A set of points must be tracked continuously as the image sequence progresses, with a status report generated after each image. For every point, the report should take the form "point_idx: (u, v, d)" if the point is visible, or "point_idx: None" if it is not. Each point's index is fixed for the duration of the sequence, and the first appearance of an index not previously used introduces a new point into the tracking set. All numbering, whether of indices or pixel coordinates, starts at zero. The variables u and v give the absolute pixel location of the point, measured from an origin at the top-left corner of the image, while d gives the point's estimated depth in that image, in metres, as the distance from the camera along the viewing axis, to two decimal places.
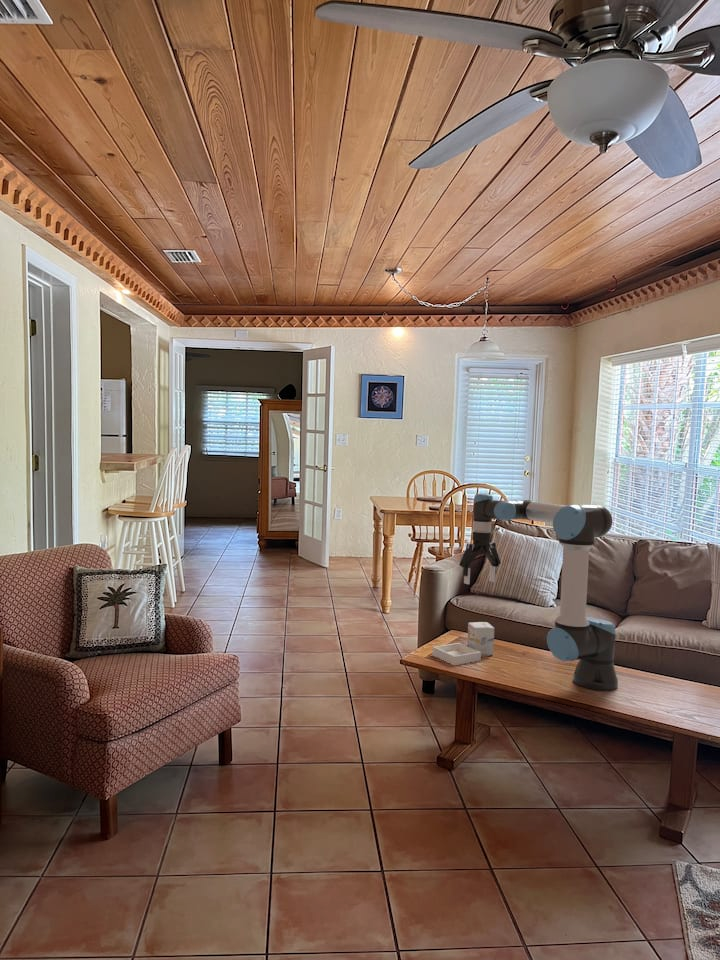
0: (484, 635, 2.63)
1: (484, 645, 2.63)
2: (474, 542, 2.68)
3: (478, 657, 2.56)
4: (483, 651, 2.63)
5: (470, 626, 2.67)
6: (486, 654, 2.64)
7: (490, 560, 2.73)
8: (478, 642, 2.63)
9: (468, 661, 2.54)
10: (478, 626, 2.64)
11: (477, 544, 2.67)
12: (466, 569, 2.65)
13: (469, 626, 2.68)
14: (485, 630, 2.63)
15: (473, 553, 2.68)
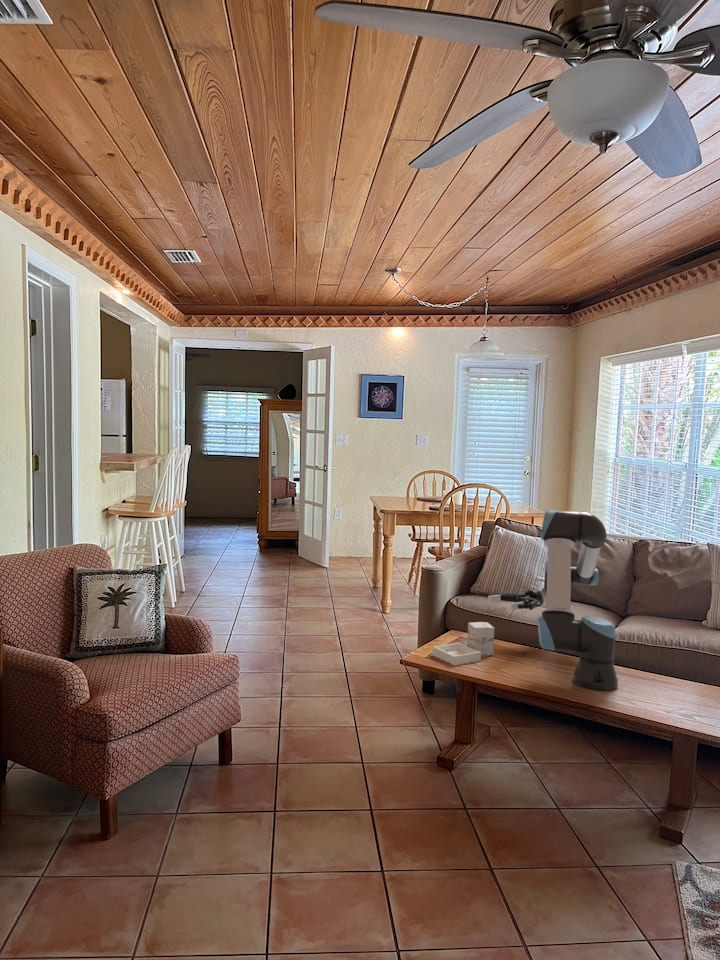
0: (484, 635, 2.63)
1: (484, 645, 2.63)
2: None
3: (478, 657, 2.56)
4: (483, 651, 2.63)
5: (470, 626, 2.67)
6: (486, 654, 2.64)
7: None
8: (478, 642, 2.63)
9: (468, 661, 2.54)
10: (478, 626, 2.64)
11: None
12: None
13: (469, 626, 2.68)
14: (485, 630, 2.63)
15: None
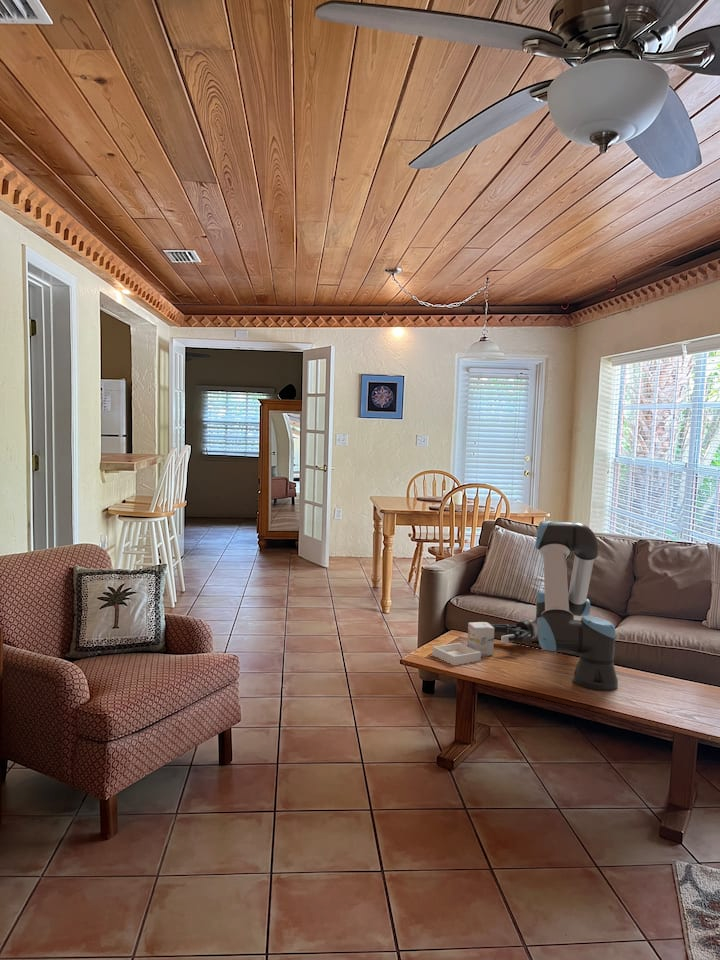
0: (484, 635, 2.63)
1: (484, 645, 2.63)
2: None
3: (478, 657, 2.56)
4: (483, 651, 2.63)
5: (470, 626, 2.67)
6: (486, 654, 2.64)
7: None
8: (478, 642, 2.63)
9: (468, 661, 2.54)
10: (478, 626, 2.64)
11: None
12: None
13: (469, 626, 2.68)
14: (485, 630, 2.63)
15: None
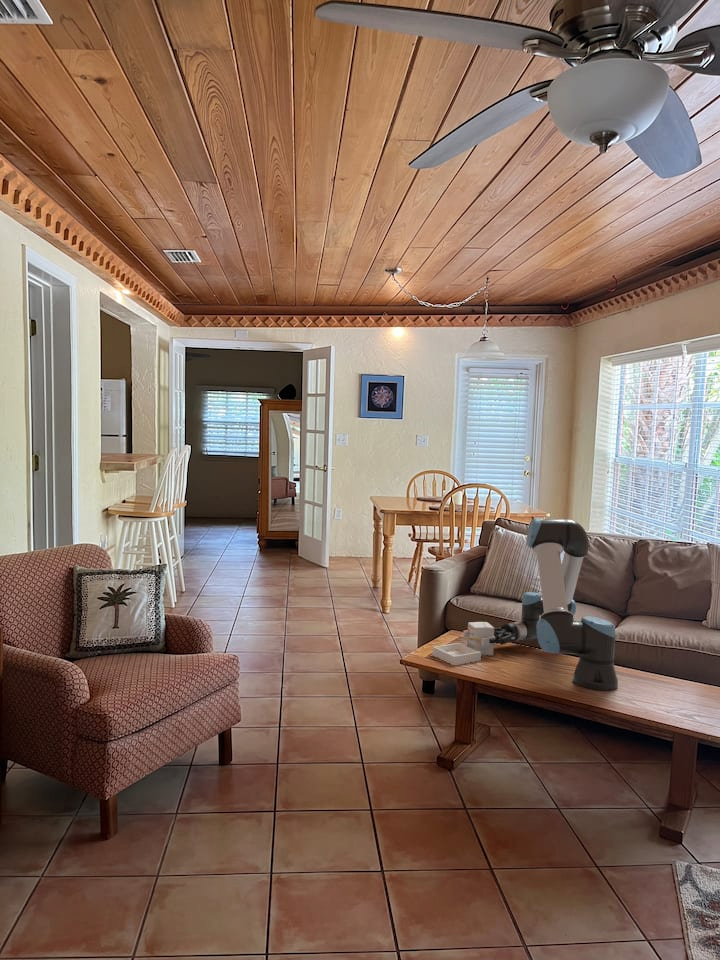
0: (483, 635, 2.63)
1: None
2: None
3: (478, 657, 2.56)
4: (483, 650, 2.63)
5: (470, 626, 2.67)
6: (486, 654, 2.64)
7: None
8: (478, 642, 2.63)
9: (468, 661, 2.54)
10: (478, 626, 2.64)
11: None
12: None
13: (469, 626, 2.68)
14: (485, 630, 2.63)
15: None
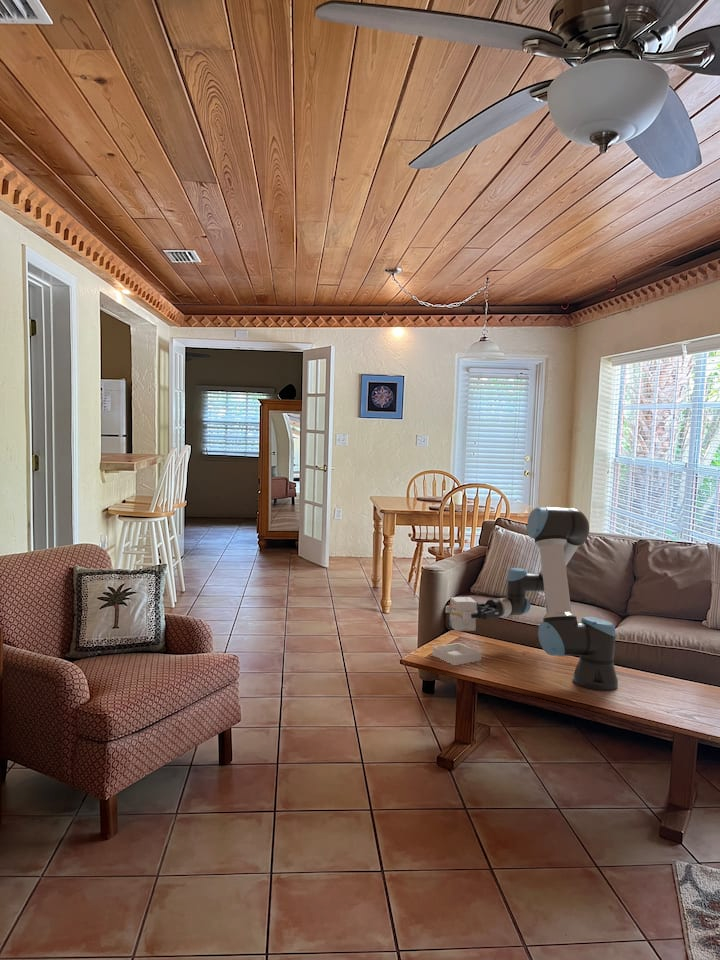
0: (465, 609, 2.57)
1: None
2: None
3: (478, 657, 2.56)
4: (465, 625, 2.57)
5: (452, 600, 2.61)
6: (468, 629, 2.58)
7: None
8: (459, 617, 2.57)
9: (468, 661, 2.54)
10: (460, 600, 2.58)
11: None
12: None
13: (451, 601, 2.63)
14: (467, 604, 2.57)
15: None
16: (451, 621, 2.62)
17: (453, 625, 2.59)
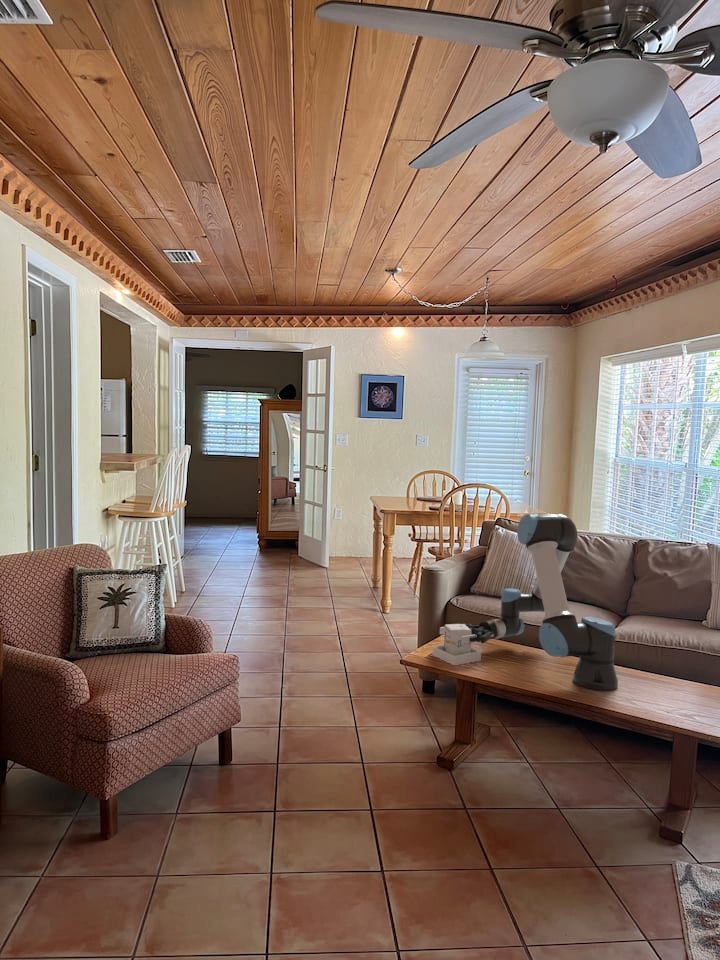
0: (460, 637, 2.54)
1: (460, 647, 2.55)
2: None
3: (478, 657, 2.56)
4: (460, 653, 2.55)
5: (447, 628, 2.58)
6: None
7: None
8: (454, 645, 2.54)
9: (468, 661, 2.54)
10: (455, 628, 2.56)
11: None
12: None
13: (445, 628, 2.60)
14: (462, 632, 2.54)
15: None
16: (445, 649, 2.59)
17: None
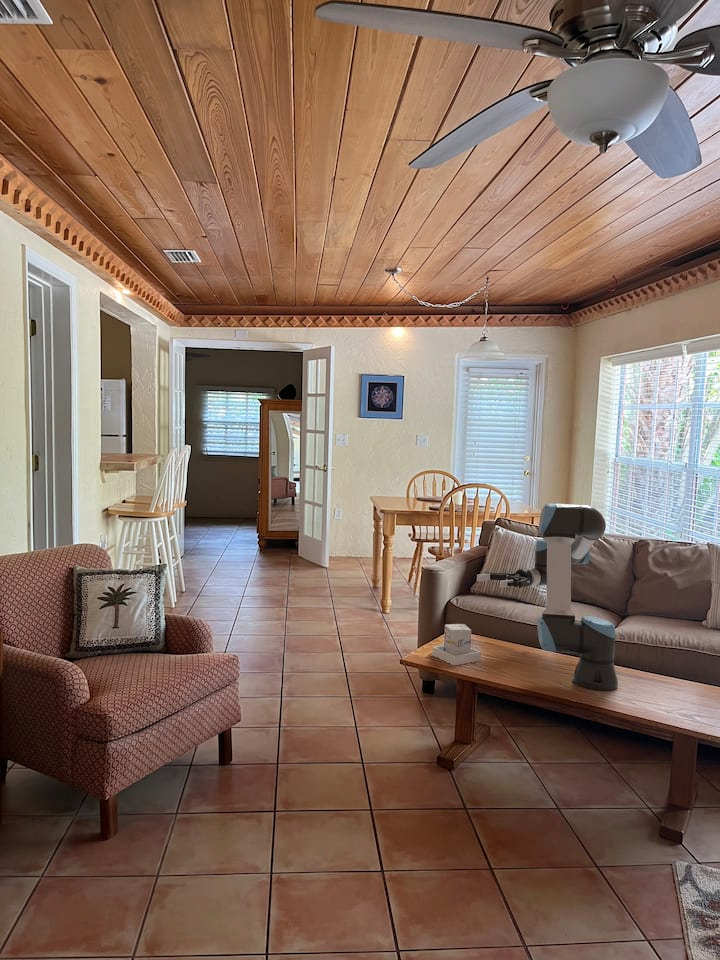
0: (460, 637, 2.54)
1: (460, 647, 2.55)
2: None
3: (478, 657, 2.56)
4: (460, 653, 2.55)
5: (447, 628, 2.58)
6: None
7: None
8: (454, 645, 2.54)
9: (468, 661, 2.54)
10: (455, 628, 2.56)
11: None
12: None
13: (445, 628, 2.60)
14: (462, 632, 2.54)
15: None
16: (445, 649, 2.59)
17: None
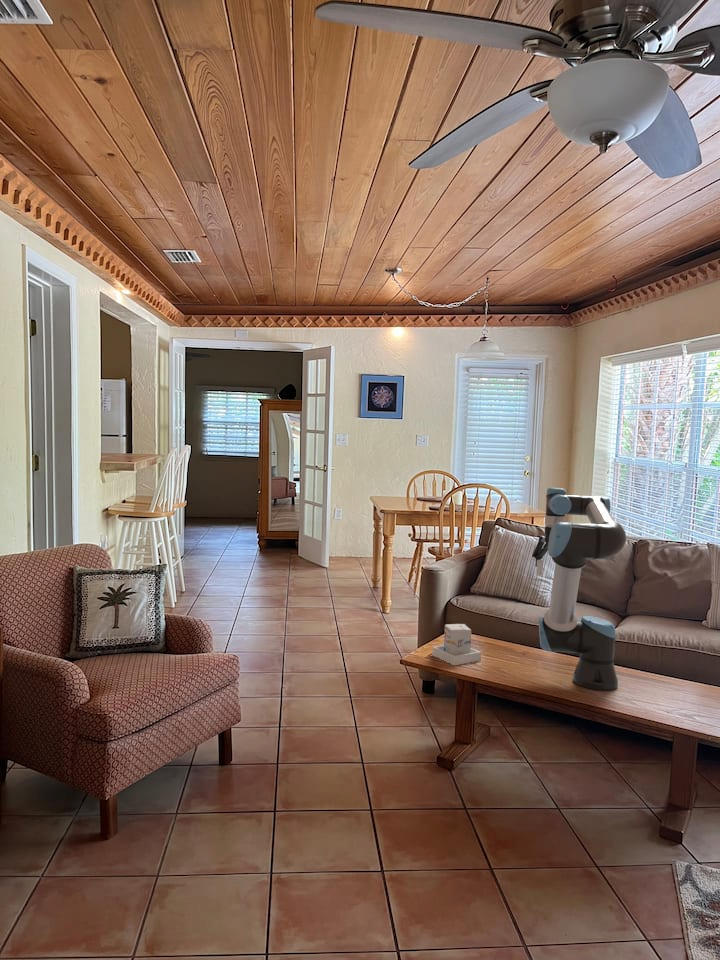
0: (460, 637, 2.54)
1: (460, 647, 2.55)
2: None
3: (478, 657, 2.56)
4: (460, 653, 2.55)
5: (447, 628, 2.58)
6: None
7: None
8: (454, 645, 2.54)
9: (468, 661, 2.54)
10: (455, 628, 2.56)
11: (546, 538, 2.66)
12: (536, 560, 2.71)
13: (445, 628, 2.60)
14: (462, 632, 2.54)
15: None
16: (445, 649, 2.59)
17: None
